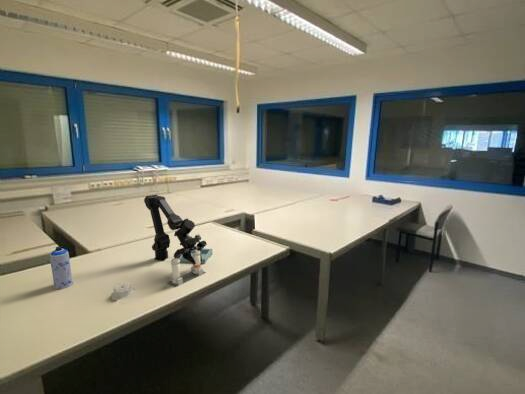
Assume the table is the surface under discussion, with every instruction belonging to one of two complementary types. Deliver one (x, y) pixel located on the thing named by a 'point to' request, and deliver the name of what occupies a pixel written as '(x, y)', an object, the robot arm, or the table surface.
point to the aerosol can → (61, 268)
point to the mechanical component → (122, 291)
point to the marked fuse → (196, 261)
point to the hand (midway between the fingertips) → (198, 262)
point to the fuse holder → (186, 277)
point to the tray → (204, 254)
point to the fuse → (175, 270)
